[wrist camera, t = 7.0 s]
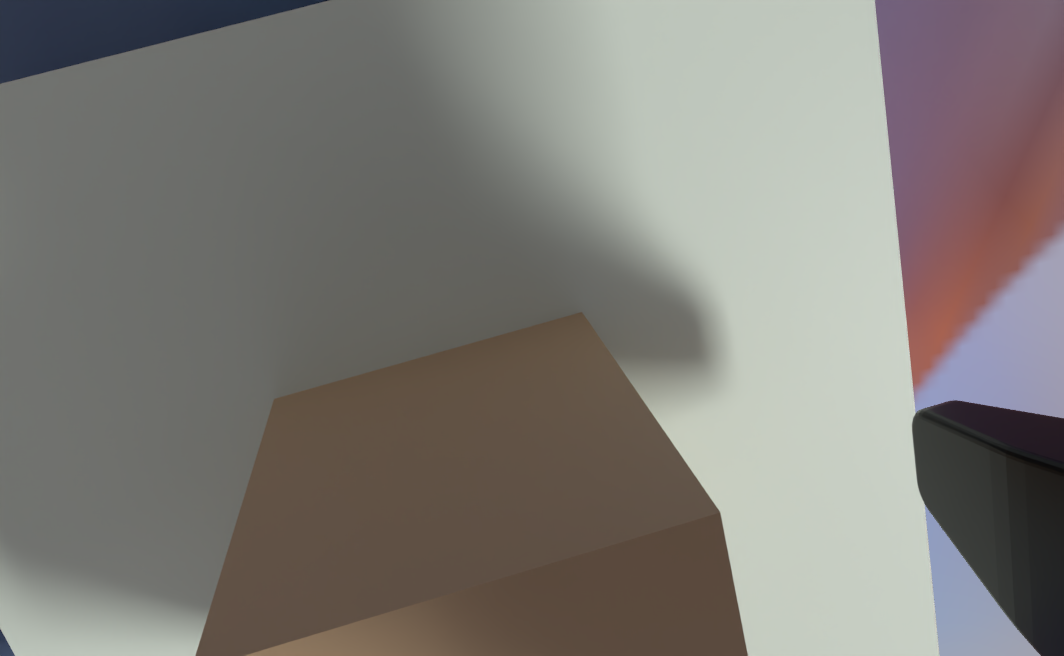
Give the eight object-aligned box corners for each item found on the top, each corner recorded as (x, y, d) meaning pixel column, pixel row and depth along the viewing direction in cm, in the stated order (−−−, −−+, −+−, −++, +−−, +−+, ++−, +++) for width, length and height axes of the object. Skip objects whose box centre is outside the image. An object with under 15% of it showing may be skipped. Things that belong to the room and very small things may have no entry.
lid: (824, -123, 10) (1269, -276, 5) (913, 670, 13) (1213, 1036, 9) (-208, 140, 9) (-928, 275, 4) (191, 900, 13) (70, 1443, 8)
